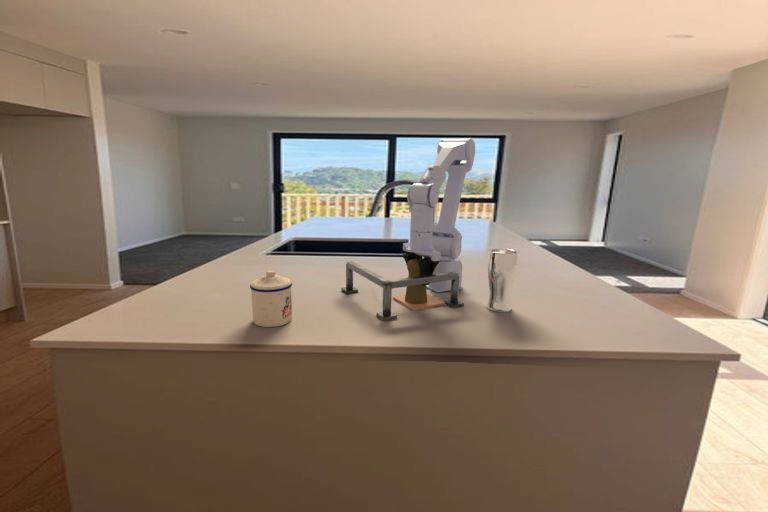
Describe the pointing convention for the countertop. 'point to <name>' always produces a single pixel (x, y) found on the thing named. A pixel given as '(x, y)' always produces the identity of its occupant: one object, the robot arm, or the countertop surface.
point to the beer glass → (501, 278)
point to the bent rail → (398, 283)
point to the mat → (430, 303)
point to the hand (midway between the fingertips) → (419, 282)
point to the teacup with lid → (271, 300)
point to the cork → (416, 292)
